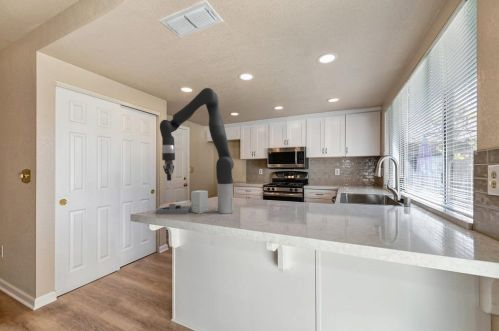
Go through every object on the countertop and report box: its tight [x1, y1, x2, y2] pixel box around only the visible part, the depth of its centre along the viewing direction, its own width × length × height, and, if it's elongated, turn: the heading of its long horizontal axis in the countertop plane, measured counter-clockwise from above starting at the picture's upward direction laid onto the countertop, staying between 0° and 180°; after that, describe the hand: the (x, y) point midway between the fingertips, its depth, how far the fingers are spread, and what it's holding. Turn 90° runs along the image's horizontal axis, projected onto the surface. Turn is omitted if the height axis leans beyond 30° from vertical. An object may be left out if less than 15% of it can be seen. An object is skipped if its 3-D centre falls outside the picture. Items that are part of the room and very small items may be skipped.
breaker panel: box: [155, 200, 191, 215], centre depth 133 cm, size 18×12×6 cm, turn 89°
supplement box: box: [190, 189, 209, 214], centre depth 132 cm, size 7×7×13 cm
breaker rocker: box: [159, 199, 191, 208], centre depth 133 cm, size 16×8×1 cm, turn 89°
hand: (169, 180), depth 135 cm, fingers closed
